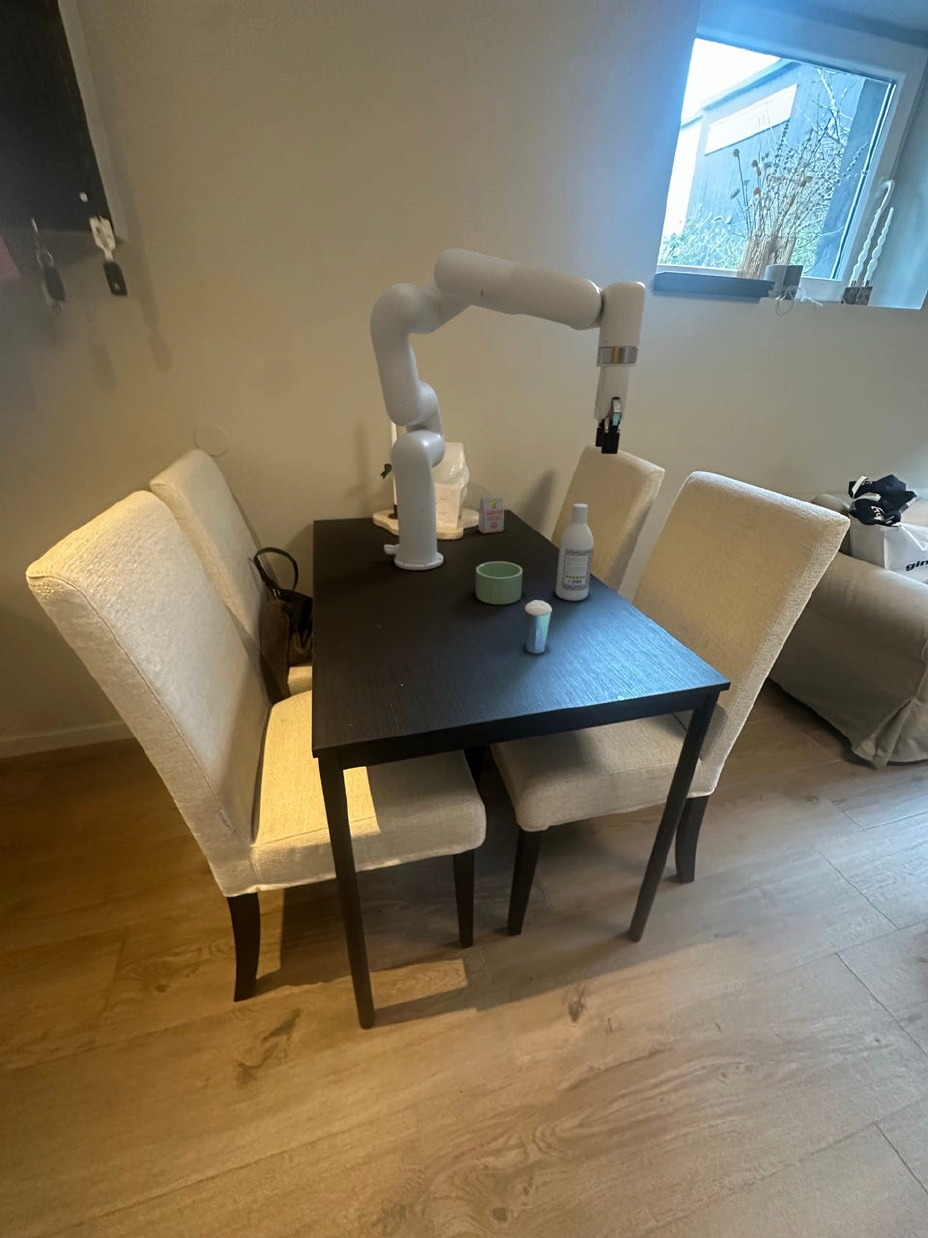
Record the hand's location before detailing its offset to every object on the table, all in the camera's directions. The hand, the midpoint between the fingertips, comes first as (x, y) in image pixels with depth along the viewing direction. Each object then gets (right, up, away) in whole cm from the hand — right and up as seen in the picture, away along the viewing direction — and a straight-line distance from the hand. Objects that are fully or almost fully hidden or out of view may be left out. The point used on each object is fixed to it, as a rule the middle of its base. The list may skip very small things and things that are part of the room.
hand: (605, 450), depth 105 cm
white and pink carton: (-22, -8, +49) cm, 54 cm away
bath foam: (-6, -30, +5) cm, 32 cm away
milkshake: (-17, -41, -16) cm, 47 cm away
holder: (-22, -30, +6) cm, 38 cm away
